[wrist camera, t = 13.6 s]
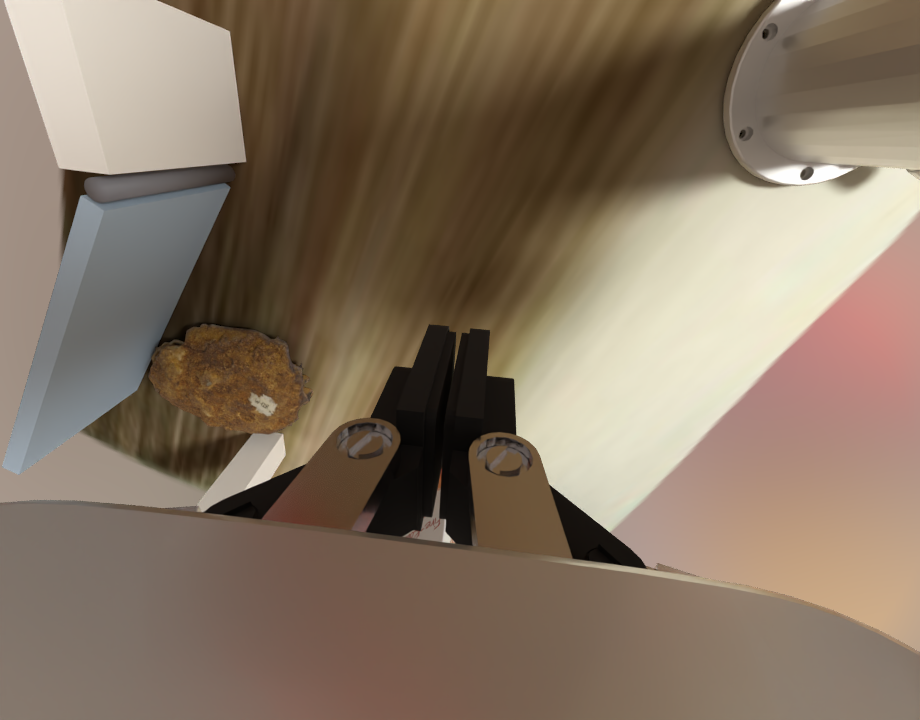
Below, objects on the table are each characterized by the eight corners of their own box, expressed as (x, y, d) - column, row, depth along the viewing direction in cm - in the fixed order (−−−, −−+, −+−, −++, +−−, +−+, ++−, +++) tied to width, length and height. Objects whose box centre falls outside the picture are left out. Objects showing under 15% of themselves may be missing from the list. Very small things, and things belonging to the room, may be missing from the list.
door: (203, 146, 30) (54, 149, 20) (237, 171, 31) (111, 188, 21) (109, 374, 41) (-22, 456, 30) (137, 389, 42) (18, 475, 31)
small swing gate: (189, 26, 28) (-21, -55, 16) (233, 31, 28) (55, -45, 16) (258, 451, 46) (183, 556, 34) (285, 454, 46) (218, 560, 34)
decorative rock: (184, 411, 44) (322, 416, 44) (160, 437, 41) (309, 442, 41) (144, 315, 38) (304, 321, 38) (111, 336, 35) (287, 342, 35)
